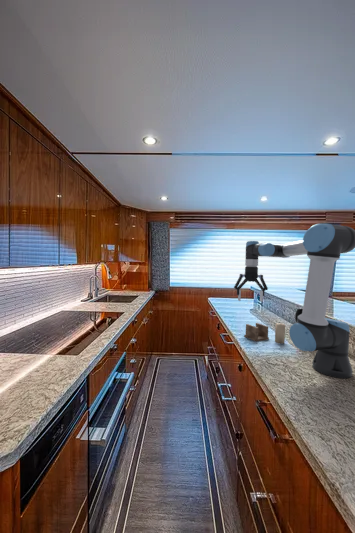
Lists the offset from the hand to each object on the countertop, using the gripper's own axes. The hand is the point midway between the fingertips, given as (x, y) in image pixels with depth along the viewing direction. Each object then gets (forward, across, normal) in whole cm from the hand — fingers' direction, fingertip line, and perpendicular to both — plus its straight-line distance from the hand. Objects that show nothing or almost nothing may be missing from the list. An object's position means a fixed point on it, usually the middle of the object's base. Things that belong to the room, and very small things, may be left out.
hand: (250, 301), depth 142 cm
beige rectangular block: (+24, -19, +1) cm, 31 cm away
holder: (+24, -7, -6) cm, 26 cm away
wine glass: (+25, -34, 0) cm, 42 cm away
